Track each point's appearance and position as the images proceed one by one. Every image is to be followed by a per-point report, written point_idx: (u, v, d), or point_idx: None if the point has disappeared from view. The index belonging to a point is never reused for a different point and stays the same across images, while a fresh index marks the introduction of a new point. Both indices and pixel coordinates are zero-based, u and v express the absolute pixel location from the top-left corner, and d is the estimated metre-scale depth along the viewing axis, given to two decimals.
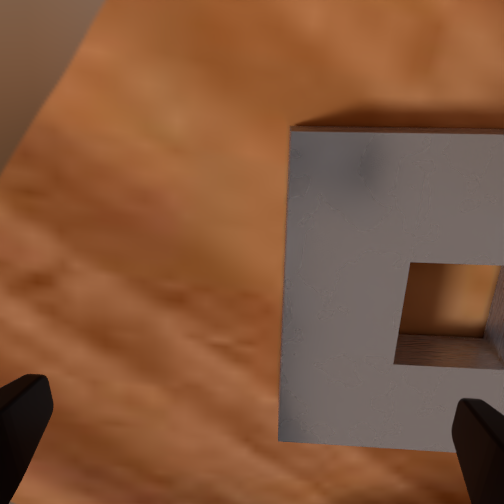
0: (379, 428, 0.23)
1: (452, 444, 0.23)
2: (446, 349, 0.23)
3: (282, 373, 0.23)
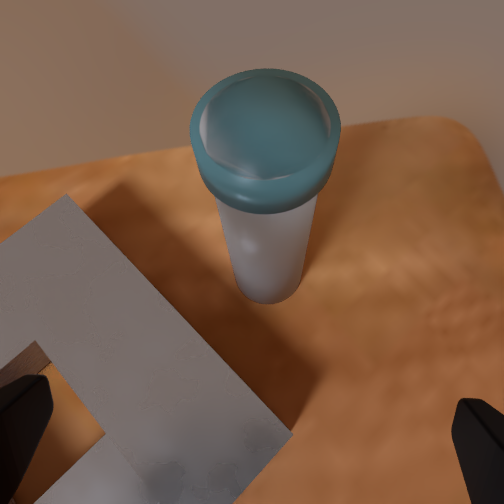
0: None
1: None
2: None
3: None
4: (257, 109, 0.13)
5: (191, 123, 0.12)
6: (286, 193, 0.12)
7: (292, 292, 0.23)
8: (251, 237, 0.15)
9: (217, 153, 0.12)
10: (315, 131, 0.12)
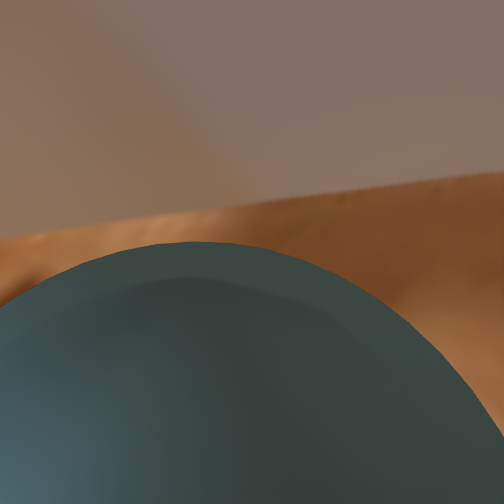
0: None
1: None
2: None
3: None
4: (144, 480, 0.03)
5: None
6: None
7: None
8: None
9: None
10: None
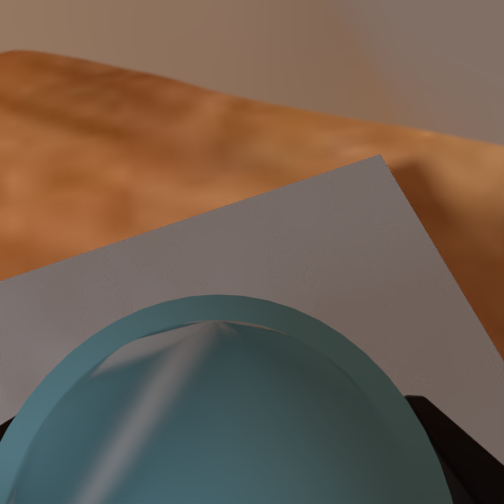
0: None
1: None
2: None
3: None
4: (188, 460, 0.04)
5: None
6: None
7: None
8: None
9: None
10: None
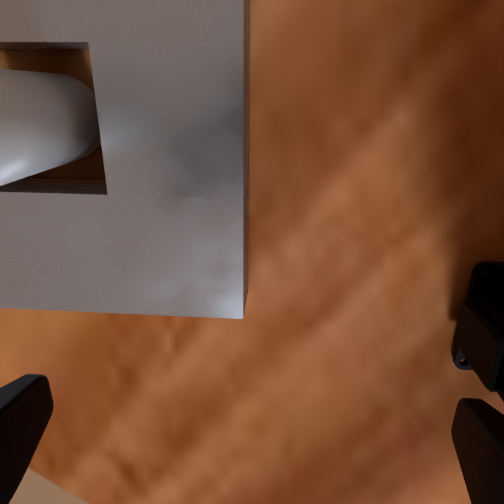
0: (209, 201, 0.18)
1: (228, 95, 0.16)
2: None
3: (142, 312, 0.20)
4: None
5: None
6: None
7: (95, 100, 0.19)
8: None
9: None
10: None
